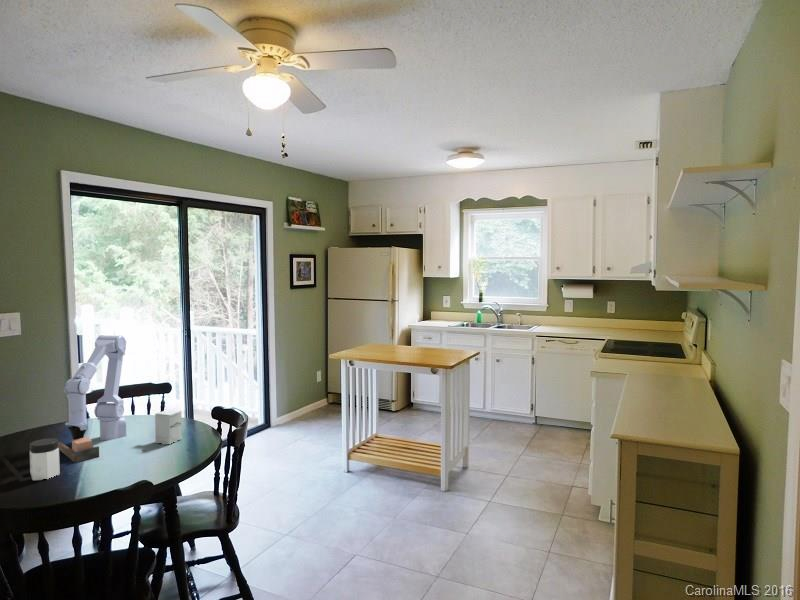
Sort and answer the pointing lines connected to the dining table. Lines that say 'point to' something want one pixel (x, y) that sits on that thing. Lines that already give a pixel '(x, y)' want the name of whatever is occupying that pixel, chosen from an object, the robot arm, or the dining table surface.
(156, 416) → the supplement box
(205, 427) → the dining table surface
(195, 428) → the dining table surface
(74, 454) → the brown wooden tray
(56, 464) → the jar
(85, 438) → the terracotta block
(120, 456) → the dining table surface
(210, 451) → the dining table surface
